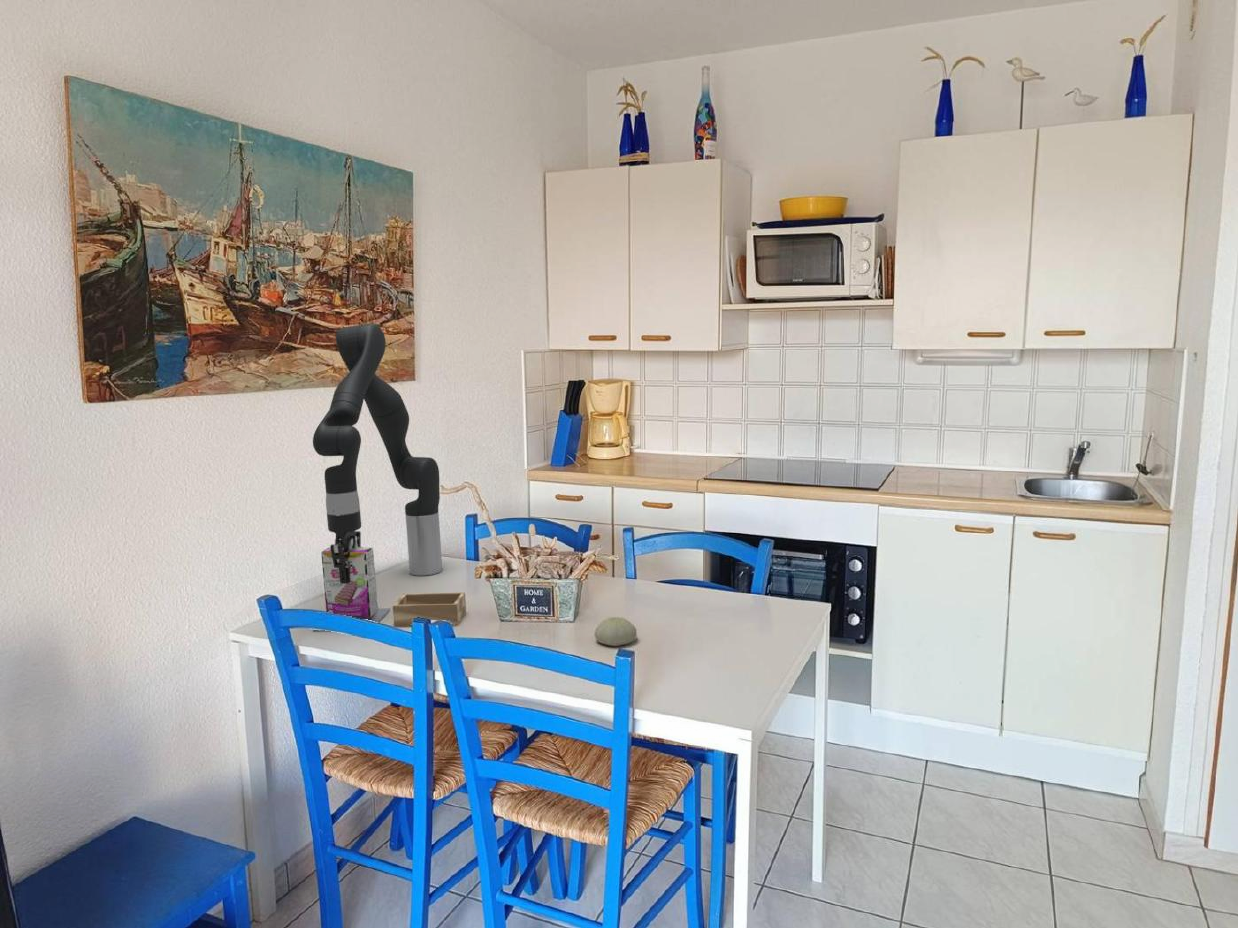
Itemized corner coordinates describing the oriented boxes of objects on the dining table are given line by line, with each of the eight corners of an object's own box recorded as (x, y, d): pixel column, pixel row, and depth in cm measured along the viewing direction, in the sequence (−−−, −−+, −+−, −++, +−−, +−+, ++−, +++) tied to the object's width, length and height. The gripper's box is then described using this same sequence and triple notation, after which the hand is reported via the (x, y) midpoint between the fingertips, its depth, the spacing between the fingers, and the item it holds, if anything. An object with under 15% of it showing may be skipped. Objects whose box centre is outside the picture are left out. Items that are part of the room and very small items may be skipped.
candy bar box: (325, 618, 204) (319, 551, 202) (334, 611, 209) (328, 546, 207) (371, 618, 203) (365, 551, 201) (379, 611, 208) (373, 546, 205)
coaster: (334, 611, 213) (334, 609, 213) (390, 610, 213) (390, 608, 213) (312, 631, 200) (312, 628, 200) (372, 630, 199) (371, 627, 199)
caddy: (405, 613, 210) (403, 593, 209) (466, 612, 210) (464, 592, 209) (394, 626, 201) (392, 605, 200) (457, 625, 201) (456, 604, 200)
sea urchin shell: (636, 622, 193) (635, 607, 186) (637, 656, 188) (636, 641, 182) (596, 623, 193) (593, 607, 186) (595, 656, 188) (593, 641, 182)
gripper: (338, 504, 209) (344, 571, 212) (315, 517, 195) (322, 589, 198) (369, 503, 209) (374, 570, 212) (348, 516, 195) (354, 588, 198)
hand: (349, 579), depth 205 cm, fingers closed on candy bar box, 5 cm apart
